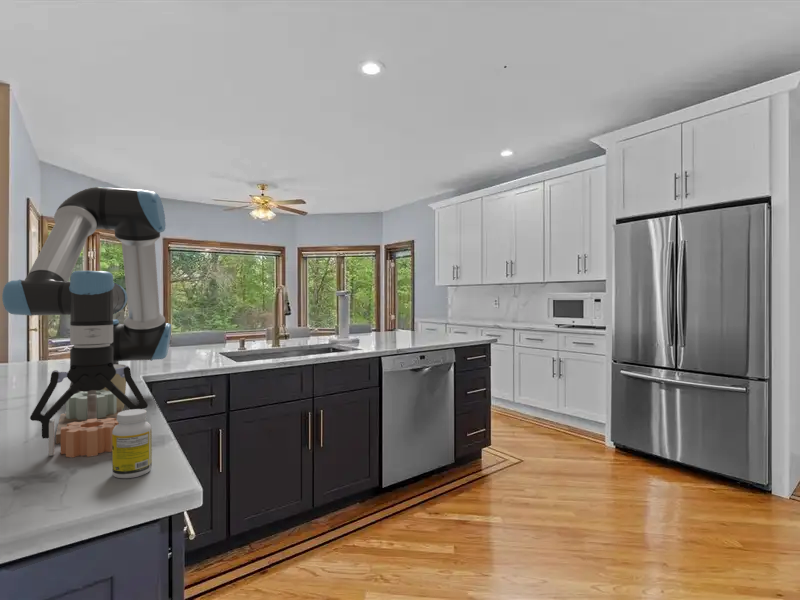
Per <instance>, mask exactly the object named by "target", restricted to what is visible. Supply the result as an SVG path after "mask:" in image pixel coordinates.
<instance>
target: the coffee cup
mask: <svg viewBox="0 0 800 600" xmlns="http://www.w3.org/2000/svg"><path fill="white" fill-rule="evenodd" d="M113 366H114V368H115V369H116V368H123V367H124V366H127V365H126V364H113ZM111 382H112V383H113V384H114V385H115V386H116V387H117V388H118V389H119V390H120V391H122V392H123V393H124V394H125V395H126V389H127V382H126V380H125V377H124V378H122V377H120V375H119V374H115V376H114V377H113V378H112V380H111ZM102 390H105V391H109V390H108V389H107V388H106V387H105V388H104V389H102ZM117 408H122V411H124V410H125V404H123V403H122V402H121V401H120V400H119V399H118V398H117Z"/></svg>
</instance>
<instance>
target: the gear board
mask: <svg viewBox="0 0 800 600" xmlns="http://www.w3.org/2000/svg"><path fill="white" fill-rule="evenodd" d="M122 411H123V410H122V408H117V412H116V413H115V414H108V415H106V417H101V418H97V394H96V390H91V391H88V395H87V419H94V418H97V420H98V419H107V418H116V421H117V414H118V413H119V412H122ZM87 419H86V420H78V419H77V418H73V419H67V418H66V412H65V413H60V415H59V419H58V424H57V428H56V433H55V445H56V444H57V445H58V444H61V427H67V424H69V423H72V422H82V421H87Z"/></svg>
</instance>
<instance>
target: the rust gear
mask: <svg viewBox="0 0 800 600" xmlns="http://www.w3.org/2000/svg"><path fill="white" fill-rule="evenodd" d="M118 424H119V423H118V422H117V421H116V418H107V419H98V420H97V418H94V419H87V421H82V422H72V423H69V424H67V427H61V443H60V455H65V457H66V458H77V457H79V456H86V458H88V457H89V458H90V457H95V456H96V457H97V456H98V454H103V453H105V452H107V453H111V452H112V431H113V429H114V427H115V426H117V425H118Z"/></svg>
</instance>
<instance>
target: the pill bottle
mask: <svg viewBox="0 0 800 600" xmlns="http://www.w3.org/2000/svg"><path fill="white" fill-rule="evenodd" d="M147 414H148V413H147V410H146V409H145V408H144V409H131V410H130V409H126V410H125V409H124V410H122V412H119V413H118V414H117V422H118V423H119V424H118V425H117V426H115V427H114V429H113V431H112V455H111V457H112V476H113V477H115V478H118V479H133V478H138V477H142V476H144V475H146V474H148V473H149V472H150V471H151V470H152V462H153V461H152V460H153V455H152V453H153V451H152V425H151V423H149V422H148V421H146V420H147V416H148V415H147Z"/></svg>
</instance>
